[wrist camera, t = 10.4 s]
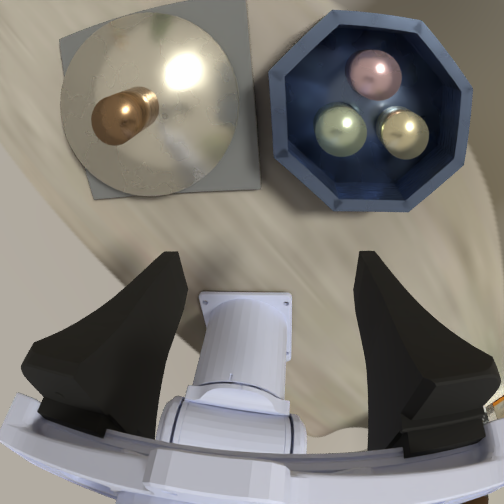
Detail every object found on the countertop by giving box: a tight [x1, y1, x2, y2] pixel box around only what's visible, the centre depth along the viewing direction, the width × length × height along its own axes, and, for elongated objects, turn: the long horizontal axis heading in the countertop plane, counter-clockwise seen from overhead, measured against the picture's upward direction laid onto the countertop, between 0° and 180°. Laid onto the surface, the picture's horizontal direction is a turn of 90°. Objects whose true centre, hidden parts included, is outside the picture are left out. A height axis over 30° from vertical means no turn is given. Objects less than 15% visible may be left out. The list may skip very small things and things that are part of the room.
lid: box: [60, 12, 239, 196], centre depth 17 cm, size 12×12×4 cm
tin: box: [268, 10, 473, 212], centre depth 17 cm, size 12×12×3 cm
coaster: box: [59, 0, 261, 200], centre depth 19 cm, size 13×13×1 cm
